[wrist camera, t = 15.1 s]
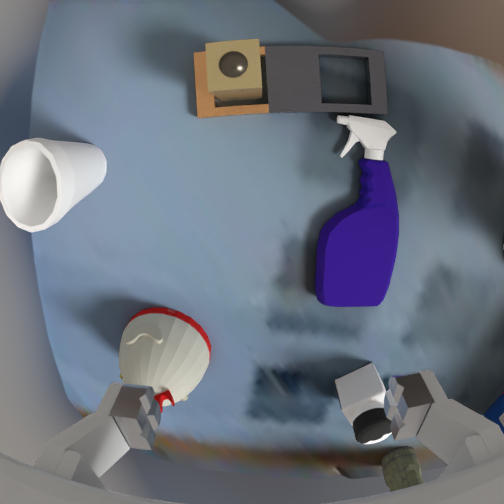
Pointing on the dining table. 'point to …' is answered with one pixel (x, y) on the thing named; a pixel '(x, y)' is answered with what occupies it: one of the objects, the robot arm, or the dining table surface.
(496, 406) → the pasta box
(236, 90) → the tan square peg
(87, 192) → the foam cup
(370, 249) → the purple flat blob
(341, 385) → the medicine bottle
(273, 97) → the peg insertion board
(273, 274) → the dining table surface
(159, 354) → the kitchen timer
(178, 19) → the dining table surface
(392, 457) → the olive green tall piece
